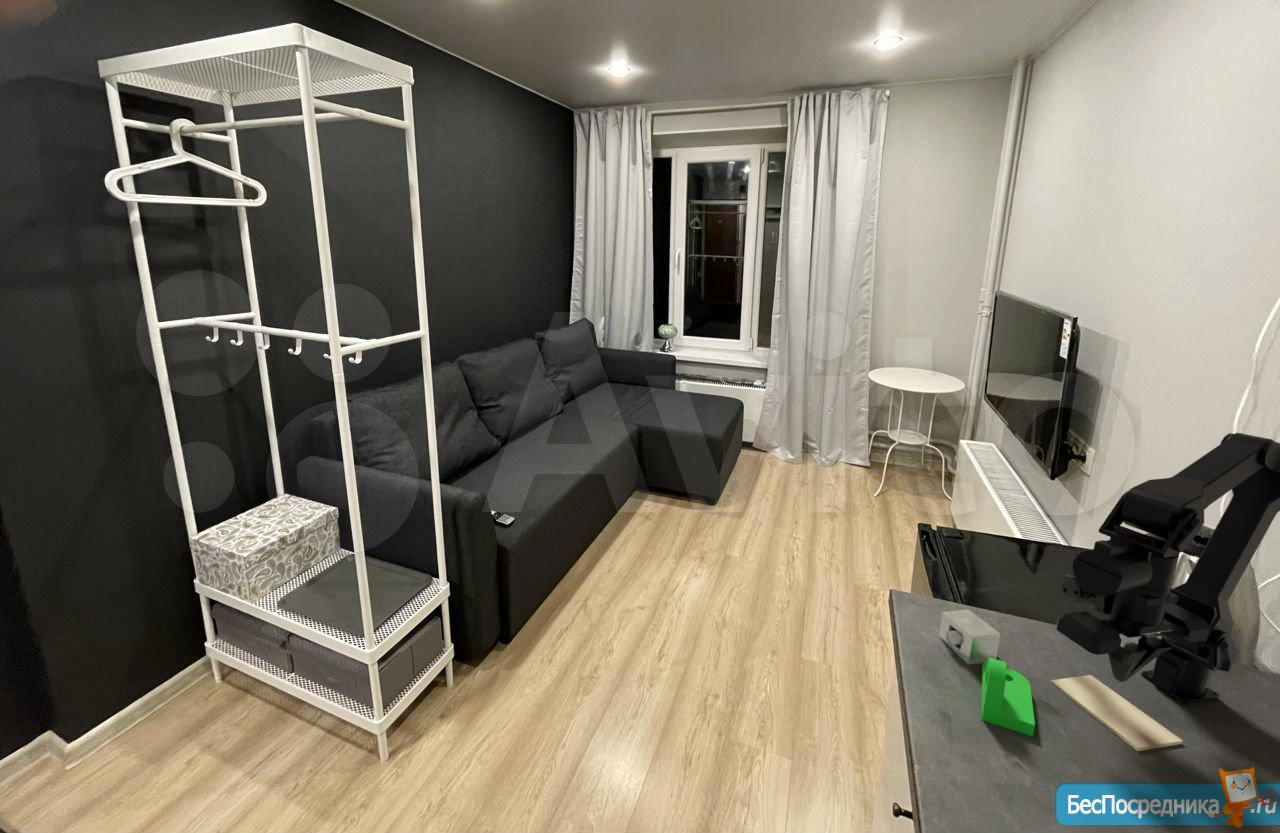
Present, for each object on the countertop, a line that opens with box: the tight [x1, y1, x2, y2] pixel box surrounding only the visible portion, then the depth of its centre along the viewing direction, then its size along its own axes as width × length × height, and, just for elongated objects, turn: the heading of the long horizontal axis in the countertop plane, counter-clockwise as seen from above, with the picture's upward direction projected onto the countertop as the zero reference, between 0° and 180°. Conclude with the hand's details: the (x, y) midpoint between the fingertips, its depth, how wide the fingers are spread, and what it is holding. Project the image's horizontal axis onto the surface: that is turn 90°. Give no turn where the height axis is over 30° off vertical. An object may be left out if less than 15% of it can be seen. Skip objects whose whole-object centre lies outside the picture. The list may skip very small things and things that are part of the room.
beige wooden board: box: [1050, 674, 1184, 752], centre depth 82 cm, size 7×13×1 cm, turn 10°
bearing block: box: [938, 609, 1001, 665], centre depth 94 cm, size 5×7×6 cm
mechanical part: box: [981, 658, 1036, 737], centre depth 83 cm, size 12×6×8 cm, turn 150°
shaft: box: [946, 621, 996, 645], centre depth 94 cm, size 7×4×4 cm, turn 100°
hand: (1119, 679), depth 81 cm, fingers closed
